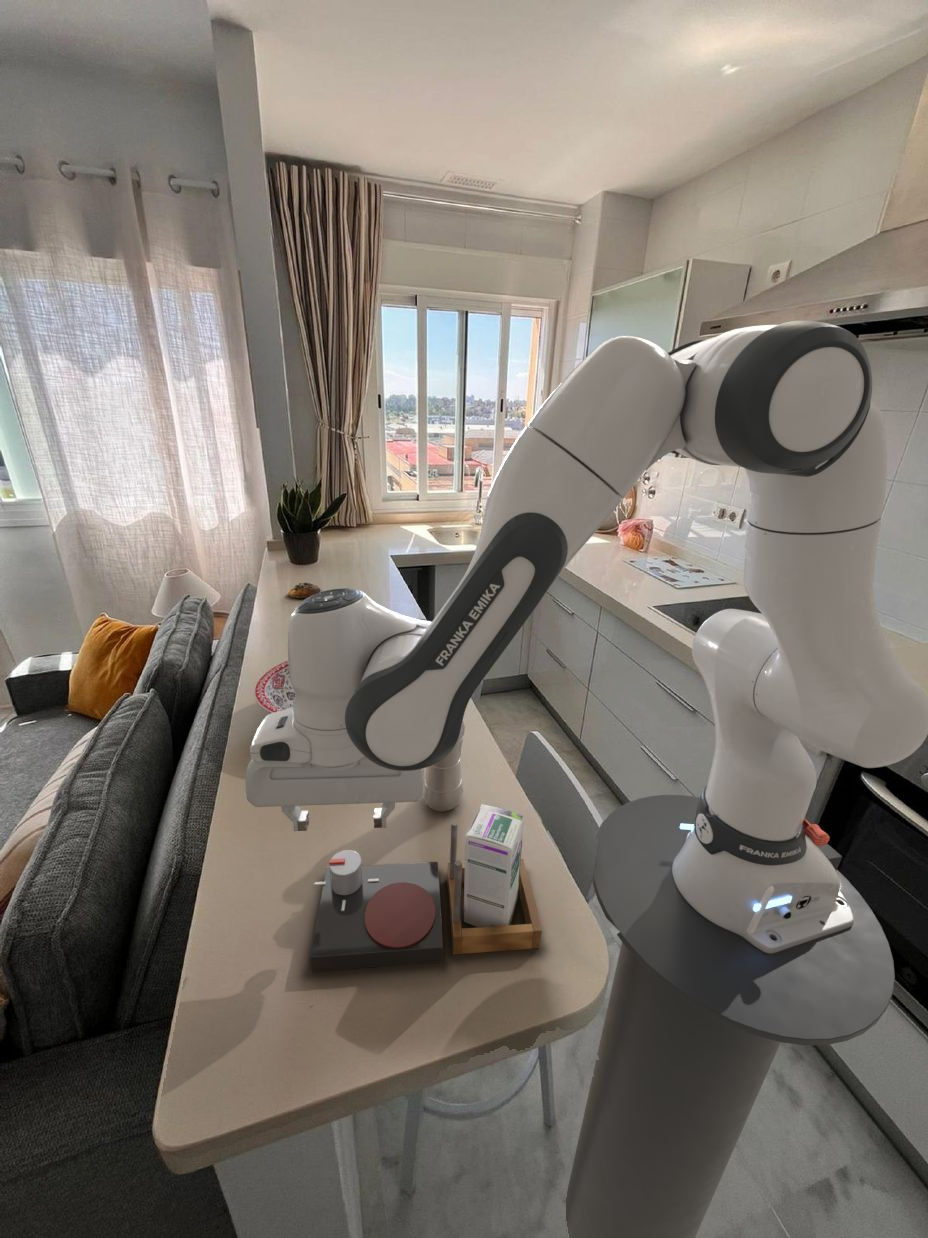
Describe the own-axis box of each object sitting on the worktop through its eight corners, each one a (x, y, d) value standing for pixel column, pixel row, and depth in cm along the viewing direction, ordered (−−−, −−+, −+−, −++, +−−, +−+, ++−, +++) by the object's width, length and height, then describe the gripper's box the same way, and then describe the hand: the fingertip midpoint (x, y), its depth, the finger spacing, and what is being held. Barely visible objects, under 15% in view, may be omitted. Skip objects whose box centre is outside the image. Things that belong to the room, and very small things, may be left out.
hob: (437, 865, 70) (437, 851, 69) (442, 962, 58) (443, 946, 57) (321, 872, 69) (319, 857, 68) (301, 973, 56) (298, 957, 55)
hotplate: (433, 881, 65) (433, 880, 65) (437, 946, 57) (437, 944, 57) (367, 885, 64) (367, 884, 64) (361, 951, 56) (361, 950, 56)
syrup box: (506, 939, 60) (514, 849, 55) (461, 922, 62) (465, 834, 57) (517, 900, 65) (526, 814, 60) (475, 886, 67) (480, 801, 62)
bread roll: (321, 597, 173) (318, 584, 171) (288, 603, 170) (285, 590, 168) (321, 589, 183) (318, 576, 181) (290, 594, 180) (287, 581, 179)
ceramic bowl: (279, 681, 117) (275, 651, 115) (402, 679, 120) (402, 650, 117) (238, 758, 91) (232, 721, 88) (398, 754, 93) (398, 718, 90)
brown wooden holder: (521, 874, 69) (528, 807, 65) (539, 948, 60) (549, 874, 55) (447, 879, 68) (449, 810, 64) (453, 955, 58) (455, 880, 54)
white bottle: (470, 806, 81) (475, 701, 74) (435, 823, 78) (436, 714, 70) (449, 784, 86) (452, 683, 79) (415, 798, 82) (414, 694, 75)
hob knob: (363, 868, 66) (362, 847, 65) (360, 894, 63) (359, 872, 61) (333, 870, 66) (331, 848, 64) (328, 896, 62) (326, 874, 61)
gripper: (427, 713, 60) (425, 804, 65) (251, 716, 57) (263, 810, 62) (429, 745, 54) (427, 842, 59) (233, 749, 52) (248, 850, 57)
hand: (341, 825), depth 61 cm, fingers open, 8 cm apart
